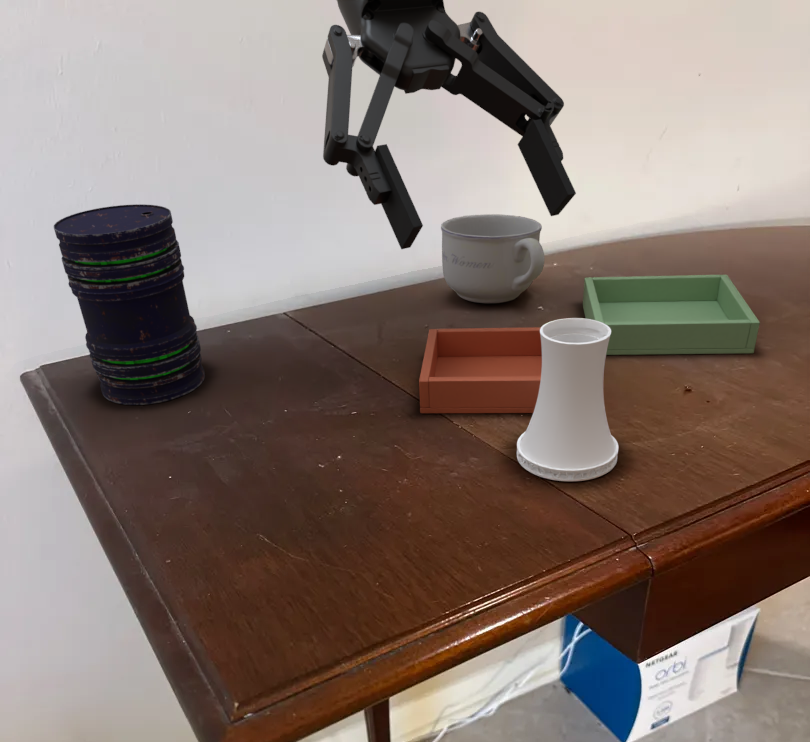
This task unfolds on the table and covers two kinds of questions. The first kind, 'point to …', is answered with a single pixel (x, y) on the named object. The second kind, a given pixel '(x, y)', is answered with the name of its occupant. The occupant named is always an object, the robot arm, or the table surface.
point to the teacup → (491, 256)
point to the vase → (570, 405)
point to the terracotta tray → (481, 370)
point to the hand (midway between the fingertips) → (491, 221)
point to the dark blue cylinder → (132, 301)
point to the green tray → (671, 314)
